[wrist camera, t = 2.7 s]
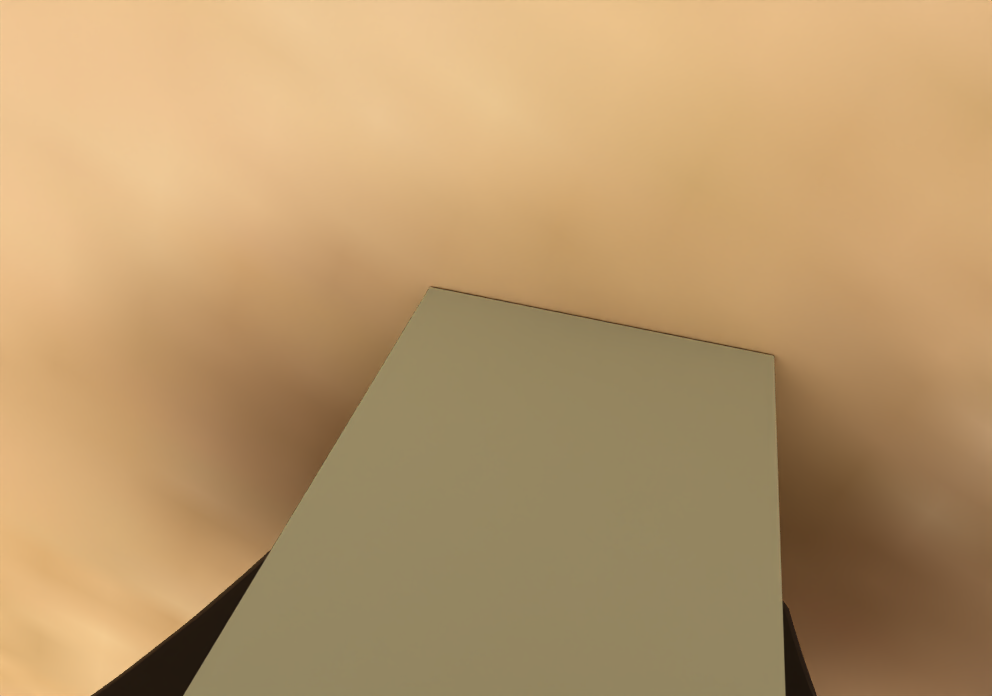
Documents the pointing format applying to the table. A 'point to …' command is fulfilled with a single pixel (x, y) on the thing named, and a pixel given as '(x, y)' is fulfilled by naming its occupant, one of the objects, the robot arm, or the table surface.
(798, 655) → the robot arm
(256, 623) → the block
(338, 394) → the table surface
